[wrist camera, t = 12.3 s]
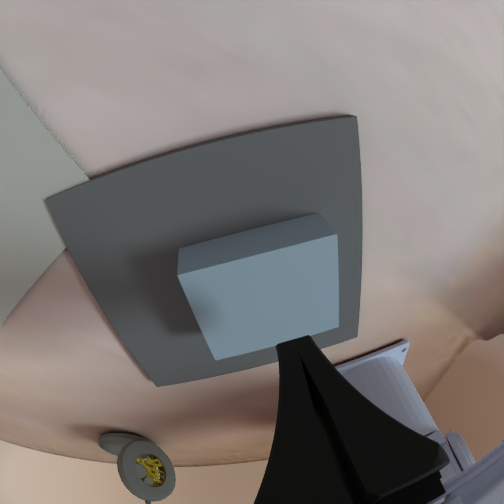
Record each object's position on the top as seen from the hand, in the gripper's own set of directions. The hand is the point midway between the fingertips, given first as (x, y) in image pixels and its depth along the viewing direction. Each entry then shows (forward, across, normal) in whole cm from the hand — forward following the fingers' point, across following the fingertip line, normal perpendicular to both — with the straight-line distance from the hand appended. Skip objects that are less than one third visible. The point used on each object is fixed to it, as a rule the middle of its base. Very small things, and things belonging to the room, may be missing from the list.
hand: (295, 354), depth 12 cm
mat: (+6, +2, 0) cm, 6 cm away
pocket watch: (+6, +17, +18) cm, 25 cm away
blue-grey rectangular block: (+4, +4, 0) cm, 6 cm away
